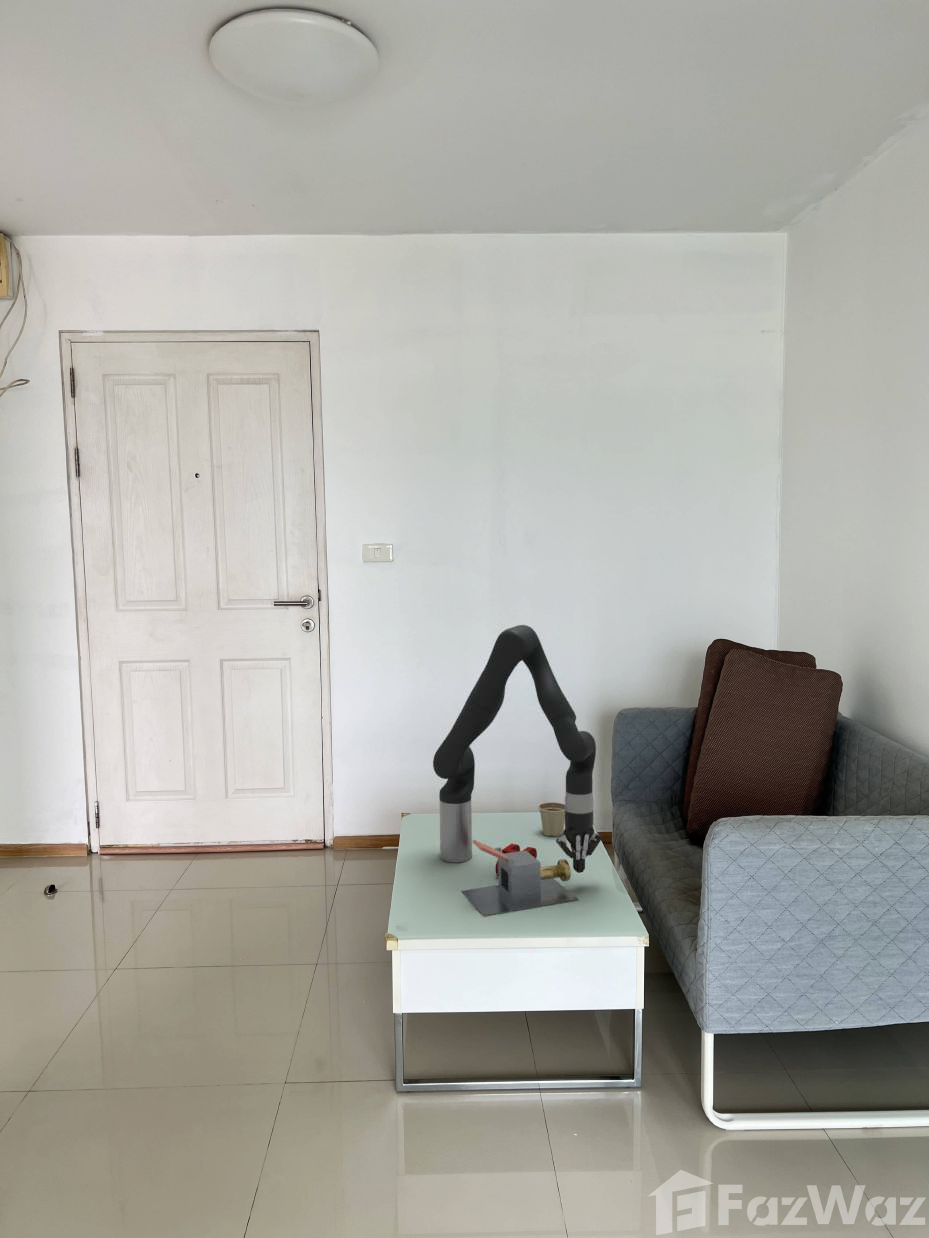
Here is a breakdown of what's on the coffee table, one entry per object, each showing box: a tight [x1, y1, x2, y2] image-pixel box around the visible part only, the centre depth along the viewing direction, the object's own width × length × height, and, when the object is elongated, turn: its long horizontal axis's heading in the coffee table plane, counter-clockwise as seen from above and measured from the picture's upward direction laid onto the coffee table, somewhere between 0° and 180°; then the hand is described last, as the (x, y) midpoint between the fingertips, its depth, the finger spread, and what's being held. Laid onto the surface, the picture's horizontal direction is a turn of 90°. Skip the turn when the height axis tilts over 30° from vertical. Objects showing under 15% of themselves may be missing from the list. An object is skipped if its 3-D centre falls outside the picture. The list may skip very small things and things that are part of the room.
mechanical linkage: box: [494, 843, 538, 876], centre depth 243 cm, size 16×7×5 cm, turn 149°
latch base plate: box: [461, 847, 580, 917], centre depth 224 cm, size 16×26×12 cm, turn 110°
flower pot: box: [537, 801, 565, 837], centre depth 271 cm, size 9×9×9 cm
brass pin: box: [541, 858, 572, 882], centre depth 226 cm, size 6×14×6 cm, turn 110°
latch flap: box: [472, 839, 509, 862], centre depth 220 cm, size 7×9×1 cm
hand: (578, 871), depth 230 cm, fingers closed
